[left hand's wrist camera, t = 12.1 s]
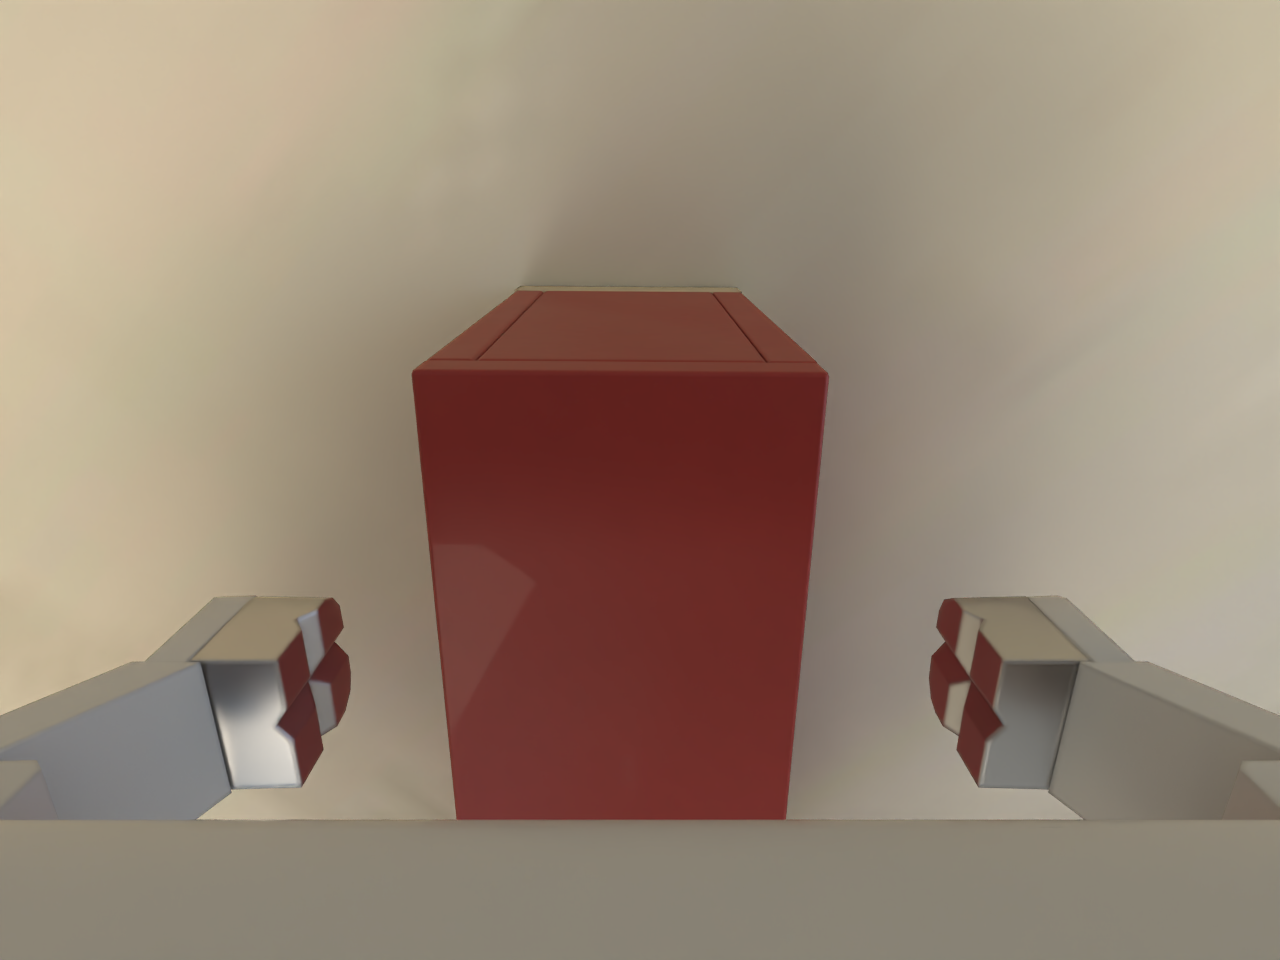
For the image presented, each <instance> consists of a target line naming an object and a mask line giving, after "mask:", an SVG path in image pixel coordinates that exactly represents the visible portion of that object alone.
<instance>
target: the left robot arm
mask: <svg viewBox="0 0 1280 960" xmlns="http://www.w3.org/2000/svg"><path fill="white" fill-rule="evenodd" d="M343 628H344V626H343V621H342V616H341V611H340V606H339V604H338V603H337V602H336V601H335V600H334V599H333V598H316V597H262V596H261V597H257V596H224V597H216V598H213V599H212V600H211V601H210V602H209V603H208V604H207V605H206V606H205V607H203V608H202V609H201V610H200V611H199V612H198V613H197V614H196V615H195V616H194V617H193V618H191V619H190V620H189V621H188V622H187V623H186V624H185V625H184V626H183V627H182V628H181V629H180V630H178V631H177V632H176V633H175V634H174V635H173V636H172V637H171V638H170V639H169V640H168V641H166V642H165V643H164V644H163V645H162V646H161V647H160V648H159V649H158V650H157V651H156V652H154V653H153V654H152V655H151V656H150V657H149V658H148V659H147V660H146V661H145V662H130V663H128V664H125V665H123V666H120V667H118V668H115V669H113V670H111V671H108V672H106V673H103V674H101V675H98V676H96V677H93V678H91V679H89V680H86V681H84V682H81V683H79V684H76V685H74V686H71V687H69V688H67V689H64V690H62V691H59V692H57V693H54V694H52V695H49V696H47V697H45V698H42V699H40V700H37V701H35V702H32V703H30V704H27V705H25V706H23V707H20V708H18V709H15V710H13V711H10V712H8V713H5V714H3V715H1V716H0V960H1280V716H1279V715H1277V714H1274V713H1272V712H1269V711H1267V710H1264V709H1262V708H1260V707H1257V706H1255V705H1252V704H1250V703H1247V702H1245V701H1243V700H1240V699H1238V698H1235V697H1233V696H1230V695H1228V694H1225V693H1223V692H1221V691H1218V690H1216V689H1213V688H1211V687H1208V686H1206V685H1204V684H1201V683H1199V682H1196V681H1194V680H1191V679H1189V678H1186V677H1184V676H1182V675H1179V674H1177V673H1174V672H1172V671H1169V670H1167V669H1165V668H1162V667H1160V666H1157V665H1155V664H1152V663H1150V662H1135V661H1134V660H1133V659H1132V658H1131V657H1130V656H1129V655H1128V654H1127V653H1126V652H1125V651H1123V650H1122V649H1121V648H1120V647H1119V646H1118V645H1117V644H1116V643H1115V642H1114V641H1113V640H1111V639H1110V638H1109V637H1108V636H1107V635H1106V634H1105V633H1104V632H1103V631H1102V630H1101V629H1100V628H1098V627H1097V626H1096V625H1095V624H1094V623H1093V622H1092V621H1091V620H1090V619H1089V618H1088V617H1087V616H1085V615H1084V614H1083V613H1082V612H1081V611H1080V610H1079V609H1078V608H1077V607H1076V606H1075V605H1074V604H1072V603H1071V602H1070V601H1069V600H1068V599H1067V598H1064V597H1060V596H1034V597H1026V596H1021V597H980V598H951V599H945V600H944V601H943V603H942V605H941V608H940V610H939V614H938V620H937V626H936V628H937V629H938V631H939V632H940V634H941V635H942V637H943V639H944V640H945V643H944V644H943V645H942V646H941V647H940V648H939V649H938V650H937V651H936V652H935V653H934V654H933V655H932V657H931V665H930V673H929V683H930V694H931V700H932V703H933V706H934V709H935V713H936V714H937V716H938V718H939V720H940V722H941V724H942V725H943V726H944V727H945V728H947V729H948V730H950V731H952V732H953V733H955V734H956V735H958V736H959V738H958V744H957V751H958V753H959V755H960V757H961V758H962V760H963V762H964V763H965V765H966V767H967V769H968V770H969V772H970V774H971V775H972V777H973V779H974V780H975V782H976V784H977V786H978V787H981V788H1018V789H1049V791H1048V793H1050V794H1051V795H1052V796H1054V797H1055V798H1056V799H1058V800H1059V801H1060V802H1062V803H1063V804H1064V805H1066V806H1067V807H1068V808H1070V809H1071V810H1072V811H1074V812H1075V813H1076V814H1078V815H1079V816H1080V817H1082V818H1083V819H1084V820H196V819H197V818H198V817H200V816H201V815H202V814H204V813H205V812H206V811H208V810H209V809H210V808H212V807H213V806H214V805H216V804H217V803H218V802H220V801H221V800H222V799H224V798H225V797H226V796H228V795H229V794H230V793H231V789H261V788H297V787H302V786H303V784H304V782H305V781H306V779H307V777H308V775H309V774H310V772H311V770H312V769H313V767H314V765H315V763H316V762H317V760H318V758H319V757H320V755H321V753H322V751H323V744H322V738H321V736H322V735H324V734H325V733H327V732H328V731H330V730H332V729H333V728H335V727H336V726H337V725H338V724H339V722H340V720H341V718H342V716H343V714H344V712H345V710H346V706H347V702H348V698H349V694H350V685H351V671H350V664H349V657H348V655H347V654H346V653H345V652H344V651H343V650H342V649H341V648H340V647H339V646H338V645H337V644H336V643H335V640H336V639H337V637H338V635H339V634H340V632H341V631H342V629H343Z"/></svg>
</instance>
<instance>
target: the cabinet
mask: <svg viewBox="0 0 1280 960" xmlns="http://www.w3.org/2000/svg"><path fill="white" fill-rule="evenodd" d="M828 382H829V376H828V373H827V372H826V371H825V370H824V369H823V368H822V367H821V366H819V365H818V364H817V362H816V361H815V360H814V359H813V358H812V357H811V356H810V355H808V354H807V353H806V352H805V351H804V350H803V349H802V348H801V347H800V346H799V345H797V344H796V343H795V342H794V341H793V340H792V339H791V338H790V337H789V336H788V335H787V334H785V333H784V332H783V331H782V330H781V329H780V328H779V327H778V326H777V325H776V324H774V323H773V322H772V321H771V320H770V319H769V318H768V317H767V316H766V315H765V314H764V313H762V312H761V311H760V310H759V309H758V308H757V307H756V306H755V305H754V304H753V303H751V302H750V301H749V300H748V299H747V298H746V297H745V296H744V295H743V294H742V292H741V291H740V290H739V289H738V288H711V287H576V286H520V287H519V288H517V289H516V290H515V293H514V294H512V295H511V296H510V297H509V298H507V299H506V300H505V301H503V302H502V303H501V304H499V305H498V306H497V307H495V308H494V309H493V310H492V311H490V312H489V313H488V314H486V315H485V316H484V317H482V318H481V319H480V320H479V321H477V322H476V323H475V324H473V325H472V326H471V327H469V328H468V329H467V330H466V331H464V332H463V333H462V334H460V335H459V336H458V337H456V338H455V339H454V340H452V341H451V342H450V343H449V344H447V345H446V346H445V347H443V348H442V349H441V350H439V351H438V352H437V353H436V354H434V355H433V356H432V357H430V358H429V359H428V360H427V361H425V362H423V363H422V364H421V365H419V366H418V367H417V368H415V369H414V370H413V372H412V383H413V393H414V402H415V412H416V422H417V432H418V442H419V452H420V462H421V472H422V482H423V491H424V501H425V511H426V521H427V531H428V541H429V551H430V561H431V570H432V580H433V590H434V600H435V610H436V620H437V630H438V640H439V650H440V659H441V669H442V679H443V689H444V699H445V709H446V719H447V729H448V738H449V748H450V758H451V768H452V778H453V788H454V798H455V808H456V818H457V820H786V811H787V801H788V791H789V781H790V771H791V760H792V750H793V740H794V730H795V719H796V709H797V699H798V689H799V679H800V668H801V658H802V648H803V638H804V627H805V617H806V607H807V597H808V587H809V576H810V566H811V556H812V546H813V535H814V525H815V515H816V505H817V495H818V484H819V474H820V464H821V454H822V443H823V433H824V423H825V413H826V403H827V392H828Z"/></svg>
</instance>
